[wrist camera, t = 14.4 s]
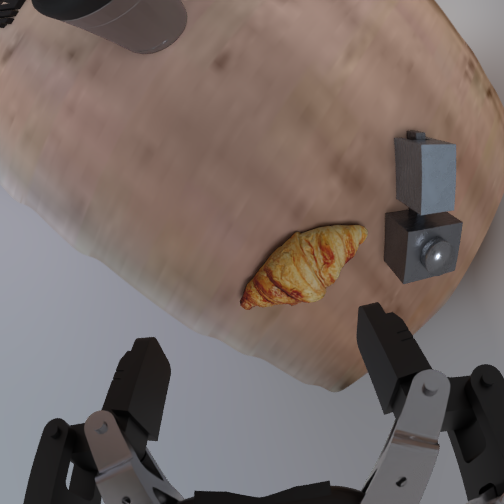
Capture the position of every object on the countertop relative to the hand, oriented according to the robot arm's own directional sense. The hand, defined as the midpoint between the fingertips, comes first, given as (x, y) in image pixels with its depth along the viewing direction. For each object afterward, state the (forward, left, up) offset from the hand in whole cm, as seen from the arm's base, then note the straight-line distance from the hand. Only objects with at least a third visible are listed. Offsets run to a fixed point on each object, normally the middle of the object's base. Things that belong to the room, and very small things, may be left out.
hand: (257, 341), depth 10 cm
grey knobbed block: (+6, +24, -28) cm, 37 cm away
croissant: (+14, +6, -28) cm, 32 cm away
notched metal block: (+2, +24, -28) cm, 37 cm away
